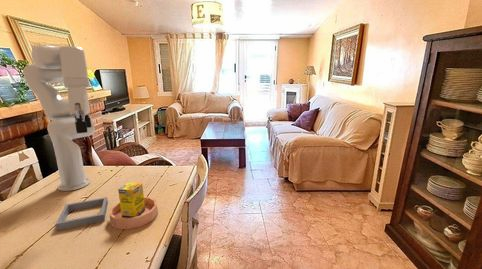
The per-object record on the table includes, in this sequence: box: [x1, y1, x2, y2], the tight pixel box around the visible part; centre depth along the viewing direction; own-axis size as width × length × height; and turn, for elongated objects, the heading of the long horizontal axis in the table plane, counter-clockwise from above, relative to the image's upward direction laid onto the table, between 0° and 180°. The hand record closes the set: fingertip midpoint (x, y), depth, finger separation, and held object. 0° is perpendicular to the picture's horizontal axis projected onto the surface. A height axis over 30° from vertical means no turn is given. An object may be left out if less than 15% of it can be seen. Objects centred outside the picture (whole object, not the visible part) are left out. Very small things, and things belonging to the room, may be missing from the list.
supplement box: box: [117, 181, 145, 218], centre depth 89 cm, size 6×6×11 cm
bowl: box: [108, 196, 159, 230], centre depth 90 cm, size 16×16×4 cm
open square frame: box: [55, 196, 109, 232], centre depth 91 cm, size 14×14×2 cm
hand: (84, 130), depth 92 cm, fingers open, 9 cm apart
